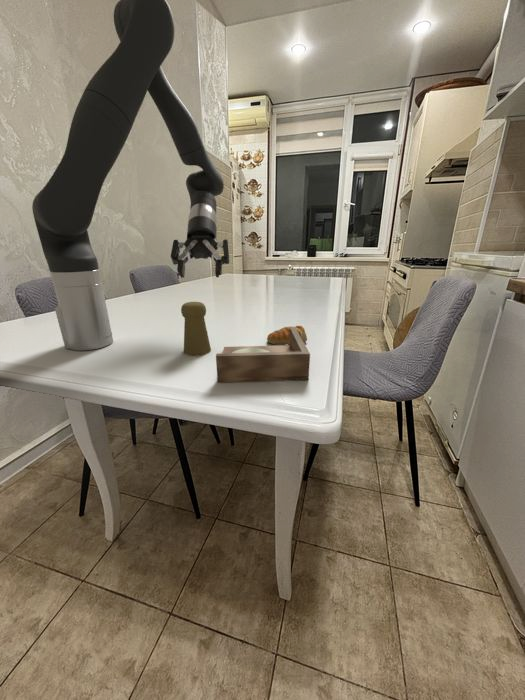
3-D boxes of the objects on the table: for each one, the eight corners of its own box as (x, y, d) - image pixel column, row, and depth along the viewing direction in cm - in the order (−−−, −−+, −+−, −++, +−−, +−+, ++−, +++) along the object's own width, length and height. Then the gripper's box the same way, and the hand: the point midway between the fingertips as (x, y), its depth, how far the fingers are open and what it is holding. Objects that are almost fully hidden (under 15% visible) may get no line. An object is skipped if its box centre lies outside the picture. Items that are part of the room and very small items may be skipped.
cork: (214, 346, 68) (210, 299, 64) (206, 356, 62) (202, 305, 58) (188, 345, 68) (184, 299, 64) (179, 355, 63) (173, 305, 59)
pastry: (273, 348, 67) (273, 333, 65) (263, 340, 73) (262, 325, 71) (309, 343, 70) (309, 328, 68) (296, 336, 76) (297, 321, 74)
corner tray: (217, 382, 51) (215, 356, 49) (224, 350, 65) (223, 328, 64) (308, 380, 51) (310, 353, 49) (294, 348, 66) (295, 327, 64)
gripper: (171, 214, 73) (165, 265, 67) (228, 214, 74) (227, 264, 67) (178, 237, 80) (173, 285, 74) (230, 237, 81) (230, 284, 74)
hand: (199, 275), depth 71 cm, fingers open, 8 cm apart
